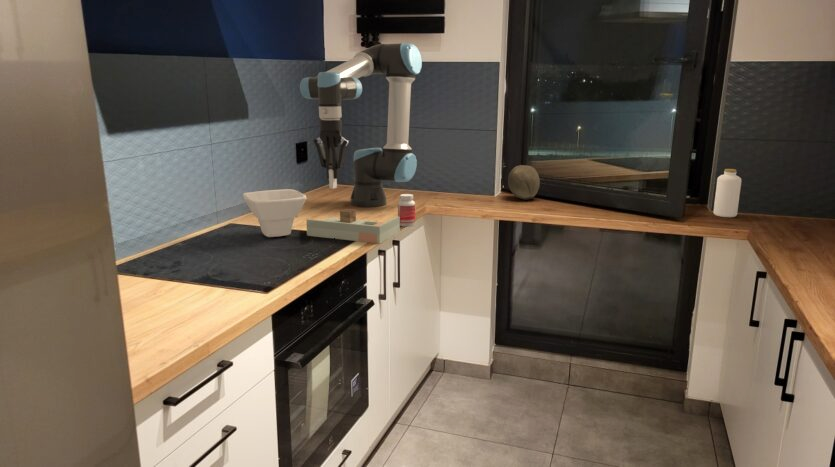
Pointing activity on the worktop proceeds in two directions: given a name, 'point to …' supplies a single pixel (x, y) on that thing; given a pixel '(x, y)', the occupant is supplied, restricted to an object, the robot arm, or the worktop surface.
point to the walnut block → (347, 215)
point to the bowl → (275, 209)
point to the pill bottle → (406, 210)
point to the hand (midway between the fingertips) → (333, 187)
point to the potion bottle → (727, 194)
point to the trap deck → (354, 229)
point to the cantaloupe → (524, 182)
